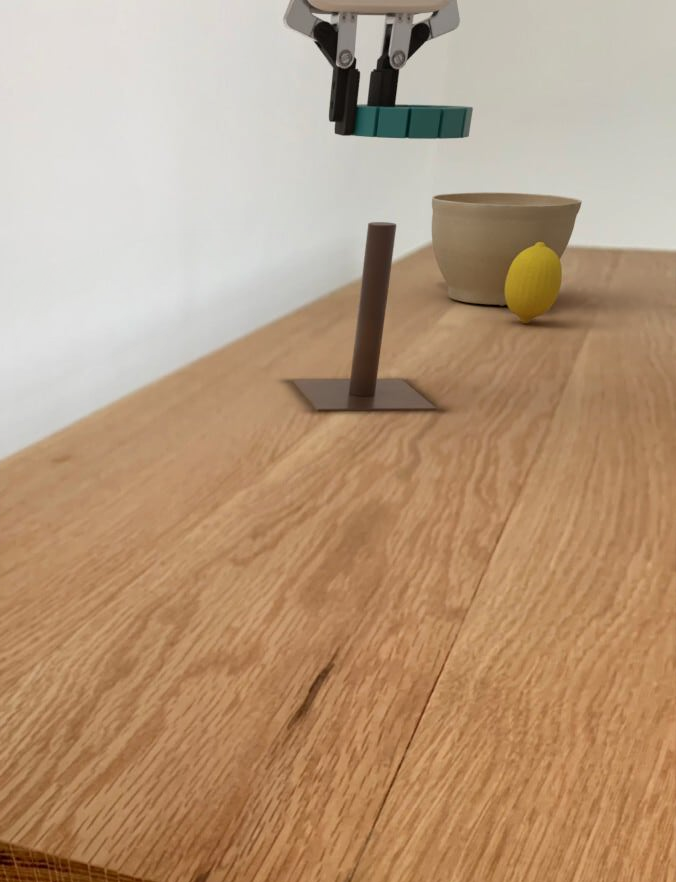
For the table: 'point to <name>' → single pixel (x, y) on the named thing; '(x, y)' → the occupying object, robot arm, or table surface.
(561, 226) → the planter bowl
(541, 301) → the lemon
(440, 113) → the ring
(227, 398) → the table surface
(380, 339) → the peg stand
